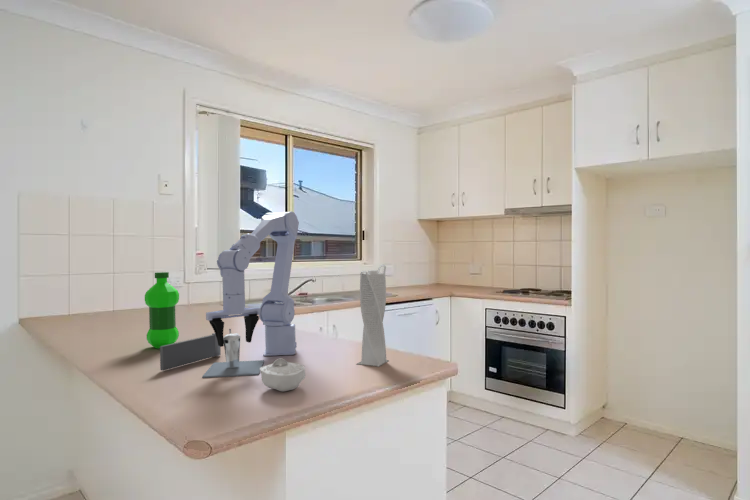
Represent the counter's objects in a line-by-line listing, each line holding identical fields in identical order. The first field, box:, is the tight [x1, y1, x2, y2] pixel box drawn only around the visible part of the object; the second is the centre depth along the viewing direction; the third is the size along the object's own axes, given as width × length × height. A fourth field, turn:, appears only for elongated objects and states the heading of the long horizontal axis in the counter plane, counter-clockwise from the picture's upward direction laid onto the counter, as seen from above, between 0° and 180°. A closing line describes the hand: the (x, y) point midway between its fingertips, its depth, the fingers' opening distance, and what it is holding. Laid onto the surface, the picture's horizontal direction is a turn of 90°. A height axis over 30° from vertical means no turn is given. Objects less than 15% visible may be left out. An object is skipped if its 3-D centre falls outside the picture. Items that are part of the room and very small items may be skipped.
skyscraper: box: [356, 264, 390, 368], centre depth 129 cm, size 8×8×28 cm
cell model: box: [260, 357, 306, 392], centre depth 107 cm, size 10×12×7 cm
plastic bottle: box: [144, 271, 180, 349], centre depth 154 cm, size 10×10×25 cm
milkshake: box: [223, 328, 241, 368], centre depth 126 cm, size 4×5×10 cm
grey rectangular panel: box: [159, 332, 222, 371], centre depth 132 cm, size 2×20×7 cm, turn 151°
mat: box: [201, 359, 265, 379], centre depth 125 cm, size 14×14×1 cm
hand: (234, 343), depth 125 cm, fingers open, 7 cm apart
